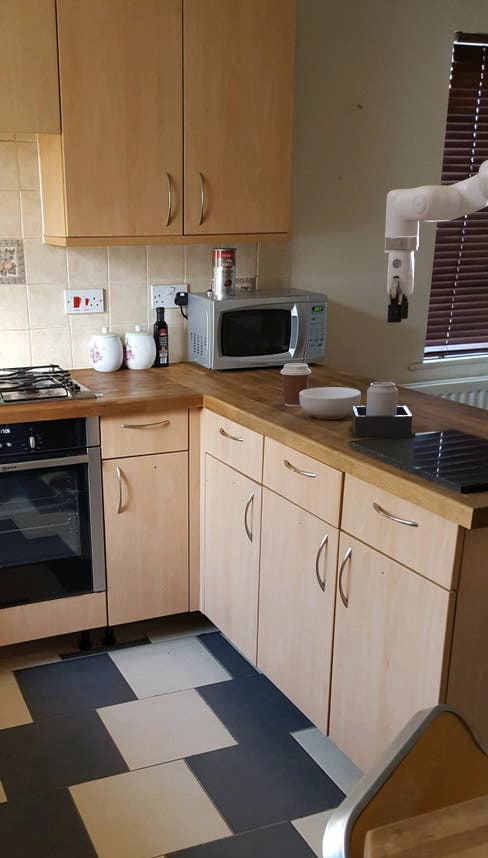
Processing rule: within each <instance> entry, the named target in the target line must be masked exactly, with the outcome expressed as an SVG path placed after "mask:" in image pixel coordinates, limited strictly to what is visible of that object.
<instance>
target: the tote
mask: <svg viewBox="0 0 488 858" xmlns="http://www.w3.org/2000/svg"><path fill="white" fill-rule="evenodd" d="M366 407H367V405H361V406H360V405H359V406H352V413H351V426H350V427H351V431H352V433H353V437H354V438H355V439H411V438H412V428H413V415H412V413H411V412H410V410H409V409H408V407H407V406H406V405H397V415H390V416H366Z"/></svg>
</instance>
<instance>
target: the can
mask: <svg viewBox="0 0 488 858" xmlns="http://www.w3.org/2000/svg"><path fill="white" fill-rule="evenodd" d="M369 385H370V386H369V387H368V389H367V390H366V406H367V407H366V416H390V415H397V406H398V399H399V398H398V395H399V389H398V388H397V387H396V385H397V384H396V383H395V382H392V381H391V382H389V381H374V382H371V383H370V384H369Z"/></svg>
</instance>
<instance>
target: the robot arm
mask: <svg viewBox="0 0 488 858" xmlns="http://www.w3.org/2000/svg"><path fill="white" fill-rule="evenodd" d="M385 201H386V204H385V206H386V207H385V229H384V231H385V232H384V253H385V254H386V253H387V254H388V262H387V263H388V264H387V280H386V281H387V284H386V292H387V295H388V296H389V297H388V305H387V318H386V319H387V320H386V321H387V323H389V324H390V323H391V324H392V323H393V324H395V323H396V324H397V323H401V322H402V320H407V319H408V318H409V306H410V305H409V302H410V301H409V296H411V295H412V294H413V293H414V285H415V283H414V278H415V275H414V274H415V257H414V252H415V253H417V252H418V250H419V249H418V247H419V229H420V222H448V221H451V220H456V219H458V218H461V217H464V216H468V215H470V214H472V213H476V212H478V211H480V210H482V209H484V208H486V207H488V159H486V160H484V161H483V162H482V163H481V165H480V166H479V168H478V173H477V174H475V175H473V176H471V177H469V178H467V179H463V180H461V181H459V182H456V183H453V184H450V185H437V184H436V185H433V184H431V185H430V184H429V185H421V186H418V187H414V188H397V189H392V190H390V191H389V192H388V193H387V195H386V200H385Z"/></svg>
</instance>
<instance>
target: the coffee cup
mask: <svg viewBox="0 0 488 858" xmlns="http://www.w3.org/2000/svg"><path fill="white" fill-rule="evenodd" d="M280 374H281V375H282V386H283V401H284V402H283V403H284V406H286V407H301V405H300V399H299V393H300V392H301V391H303V390H306V389H309V379H310V374H312V370H311V369H310V368H309V365H308V363H303V362H302V363H301V362H293V363H292V362H291V363H285V364H284V365H283V368H282V369H281V370H280Z"/></svg>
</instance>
